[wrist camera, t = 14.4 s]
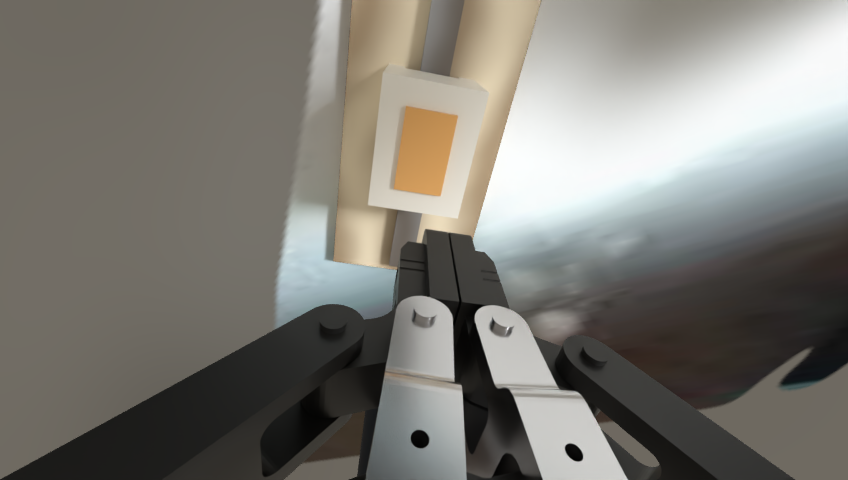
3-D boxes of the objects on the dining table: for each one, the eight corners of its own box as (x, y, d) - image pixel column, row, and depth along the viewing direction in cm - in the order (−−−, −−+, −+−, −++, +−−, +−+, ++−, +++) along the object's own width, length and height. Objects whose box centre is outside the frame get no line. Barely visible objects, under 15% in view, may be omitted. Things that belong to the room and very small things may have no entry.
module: (473, 79, 26) (490, 93, 20) (449, 184, 30) (458, 220, 24) (389, 63, 25) (382, 72, 19) (376, 172, 29) (367, 206, 23)
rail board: (556, -67, 23) (567, -75, 21) (460, 272, 35) (462, 284, 34) (362, -115, 21) (358, -128, 20) (335, 255, 34) (331, 267, 32)
